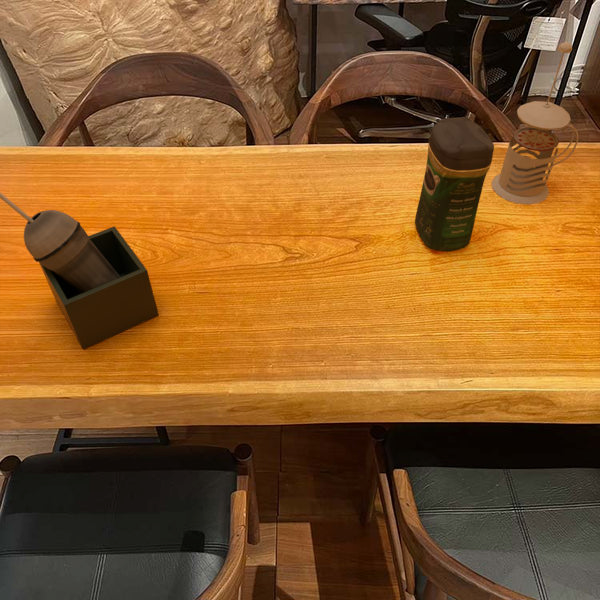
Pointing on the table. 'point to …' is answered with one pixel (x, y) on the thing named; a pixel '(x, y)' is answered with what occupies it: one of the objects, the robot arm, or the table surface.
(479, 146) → the coffee jar
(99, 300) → the bin
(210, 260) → the table surface
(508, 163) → the french press
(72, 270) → the beverage cup
